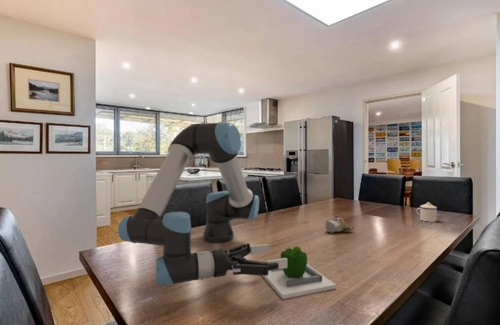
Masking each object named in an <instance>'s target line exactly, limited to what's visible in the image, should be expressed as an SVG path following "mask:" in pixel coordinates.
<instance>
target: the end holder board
mask: <svg viewBox="0 0 500 325" xmlns="http://www.w3.org/2000/svg"><path fill="white" fill-rule="evenodd" d="M261 276H262V277H263V278H264V280H265V281H266V282H267V284H269V285H270V286H271V288H272V289H273V290H274V291H275V292H276V294H278V296H279V297H280V298H281V299H282V300H285V299H289V298H295V297H299V296H305V295H311V294H315V293H321V292H326V291H329V290H334V289H335V290H336V288H337V284H336V283H334V282H333V281H331V280H330V279H329V278H327V277H326V276H325V275H323V274H321V273H320V272H319V271H318V270H316V269H315V268H313V267H312V266H310V265H309V264H308V263H307V265H306V269H305V273H304V274H303V276H302V277H300V278H296V277H288V276H286V275H285V273H284V272H283V269H277V270H271V271H268V275H267V276H264V275H261Z"/></svg>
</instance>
